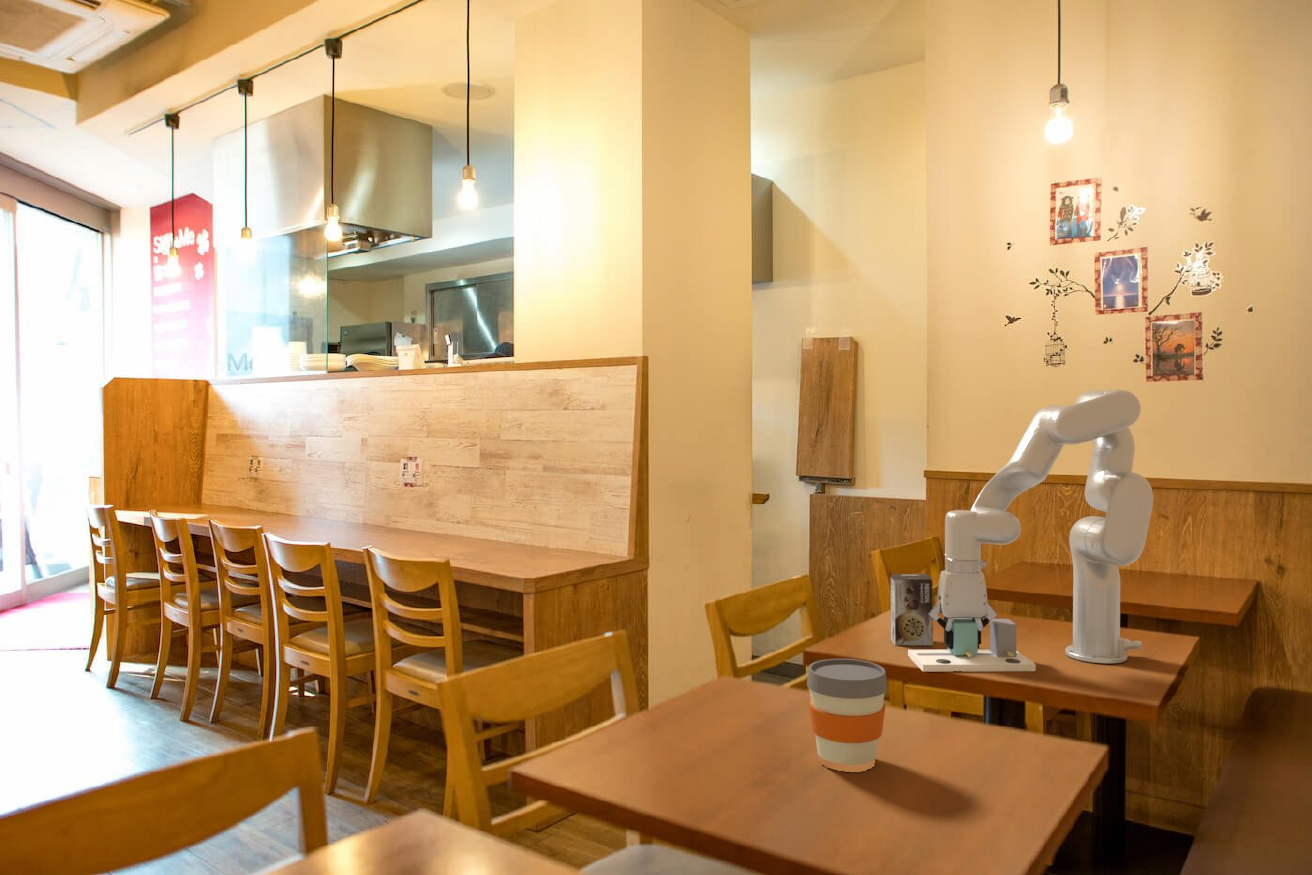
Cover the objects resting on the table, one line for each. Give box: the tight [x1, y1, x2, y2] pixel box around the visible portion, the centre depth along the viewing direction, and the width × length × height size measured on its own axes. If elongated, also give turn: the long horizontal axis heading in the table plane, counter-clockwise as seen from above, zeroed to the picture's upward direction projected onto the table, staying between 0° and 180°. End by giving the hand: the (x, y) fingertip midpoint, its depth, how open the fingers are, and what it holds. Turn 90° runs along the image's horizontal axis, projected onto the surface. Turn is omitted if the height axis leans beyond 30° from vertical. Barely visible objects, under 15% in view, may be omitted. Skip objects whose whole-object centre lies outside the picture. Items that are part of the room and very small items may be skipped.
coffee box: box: [890, 573, 934, 647], centre depth 217 cm, size 9×6×16 cm
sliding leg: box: [947, 618, 978, 657], centre depth 200 cm, size 5×8×7 cm, turn 179°
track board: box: [907, 618, 1037, 673], centre depth 199 cm, size 24×12×9 cm, turn 89°
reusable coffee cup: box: [806, 658, 888, 765], centre depth 145 cm, size 13×13×15 cm
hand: (962, 646), depth 201 cm, fingers closed on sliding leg, 5 cm apart
